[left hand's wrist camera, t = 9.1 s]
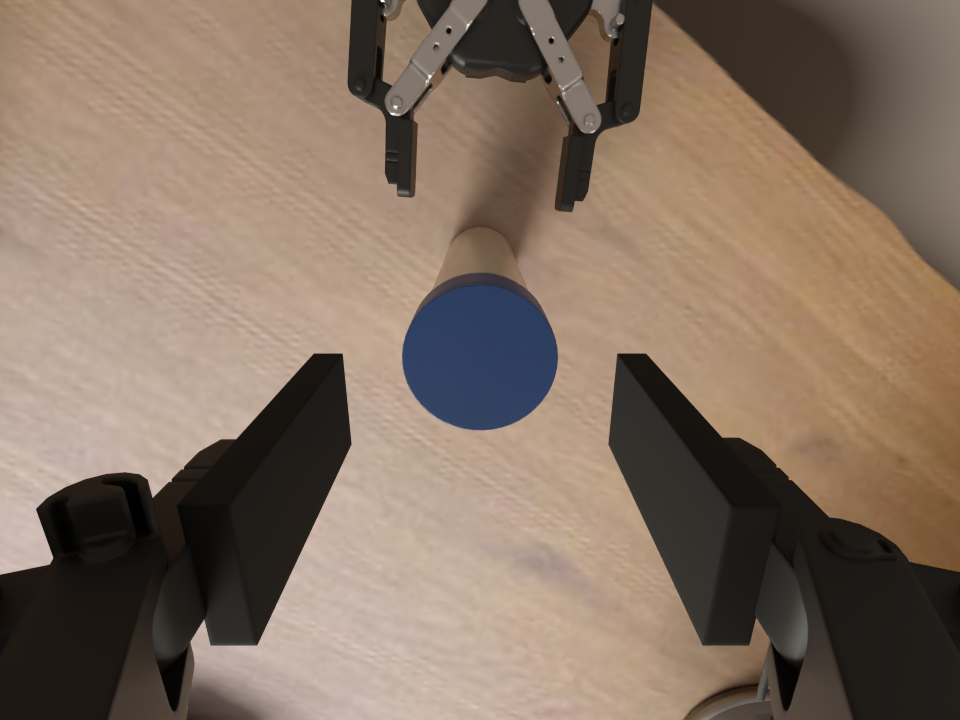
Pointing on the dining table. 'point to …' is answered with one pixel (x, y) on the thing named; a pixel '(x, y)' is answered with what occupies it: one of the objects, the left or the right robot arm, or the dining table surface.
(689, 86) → the dining table surface
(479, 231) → the jar
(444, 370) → the lid
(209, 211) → the dining table surface
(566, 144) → the right robot arm
